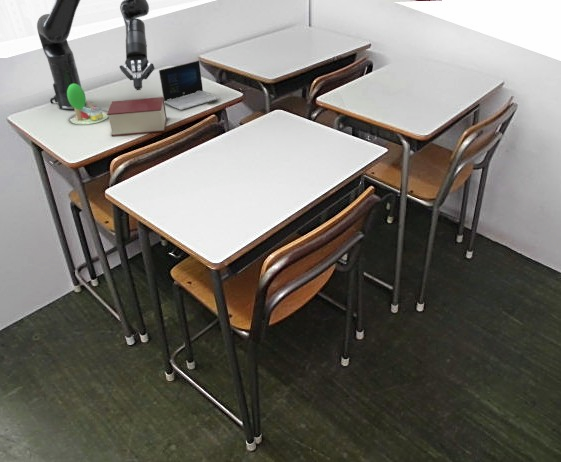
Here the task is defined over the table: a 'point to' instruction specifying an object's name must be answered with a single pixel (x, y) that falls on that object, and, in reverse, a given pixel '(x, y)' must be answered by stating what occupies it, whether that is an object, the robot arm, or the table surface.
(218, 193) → the table surface
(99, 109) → the train set
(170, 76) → the laptop
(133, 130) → the thick red book
